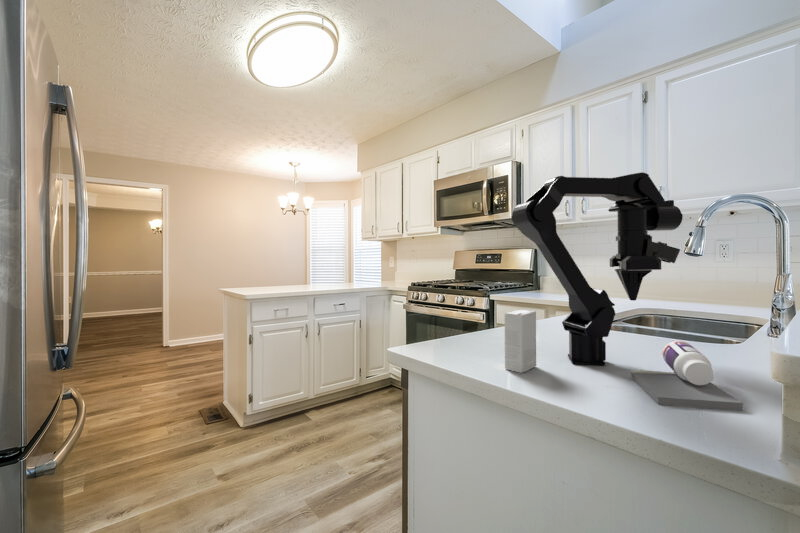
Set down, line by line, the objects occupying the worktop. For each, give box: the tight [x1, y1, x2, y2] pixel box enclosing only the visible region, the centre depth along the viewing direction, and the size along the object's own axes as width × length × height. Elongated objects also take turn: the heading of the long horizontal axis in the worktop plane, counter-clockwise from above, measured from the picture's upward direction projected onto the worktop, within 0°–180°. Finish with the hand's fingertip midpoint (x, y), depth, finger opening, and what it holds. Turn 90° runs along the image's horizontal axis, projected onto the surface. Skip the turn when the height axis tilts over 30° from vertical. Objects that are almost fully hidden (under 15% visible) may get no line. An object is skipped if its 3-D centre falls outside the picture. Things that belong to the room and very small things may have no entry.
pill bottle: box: [661, 340, 715, 385], centre depth 66 cm, size 5×5×10 cm
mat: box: [630, 369, 744, 412], centre depth 63 cm, size 11×13×2 cm
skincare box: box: [504, 309, 537, 374], centre depth 78 cm, size 6×4×12 cm
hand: (632, 300), depth 84 cm, fingers closed
